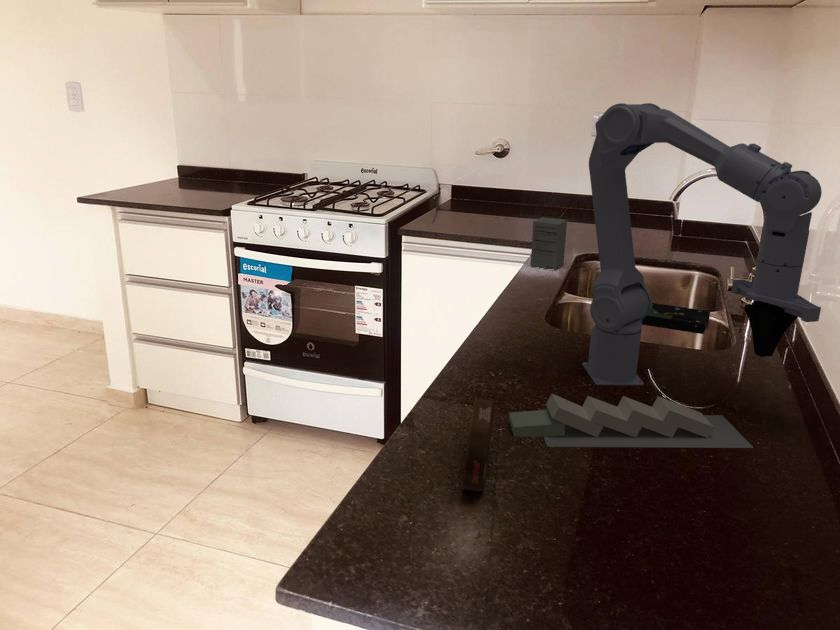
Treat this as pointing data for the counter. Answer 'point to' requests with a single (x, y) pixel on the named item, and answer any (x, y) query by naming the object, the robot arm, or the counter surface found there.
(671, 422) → the domino
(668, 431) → the domino
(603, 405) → the domino
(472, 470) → the dark translucent bar
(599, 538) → the counter surface
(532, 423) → the domino
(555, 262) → the grey drawer cabinet
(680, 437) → the mat
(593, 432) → the domino
